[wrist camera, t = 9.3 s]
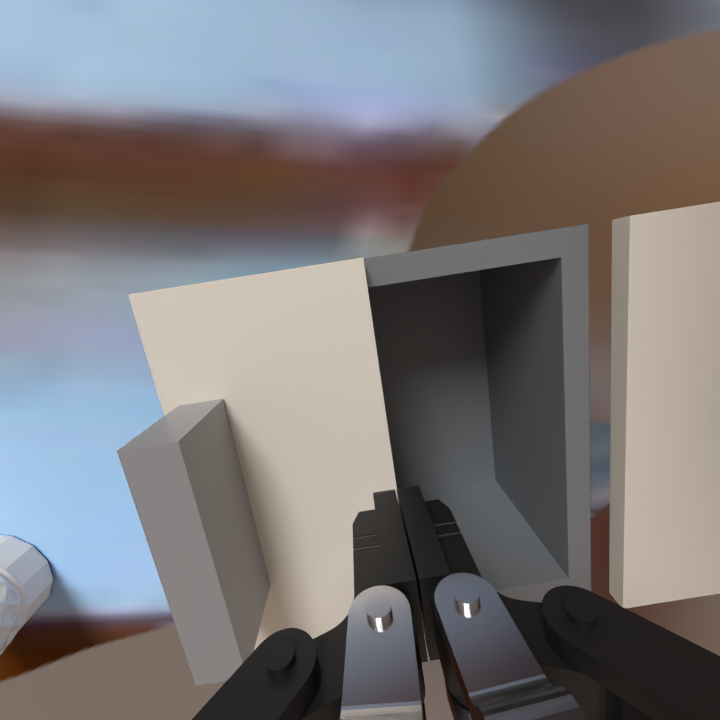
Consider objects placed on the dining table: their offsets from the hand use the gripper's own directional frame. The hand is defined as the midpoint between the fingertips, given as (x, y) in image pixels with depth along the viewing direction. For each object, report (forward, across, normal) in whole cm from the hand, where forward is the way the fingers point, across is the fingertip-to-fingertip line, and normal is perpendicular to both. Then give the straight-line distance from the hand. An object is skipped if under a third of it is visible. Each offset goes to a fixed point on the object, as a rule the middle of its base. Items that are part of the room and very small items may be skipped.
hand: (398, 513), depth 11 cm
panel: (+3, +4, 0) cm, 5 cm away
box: (+12, 0, 0) cm, 12 cm away
